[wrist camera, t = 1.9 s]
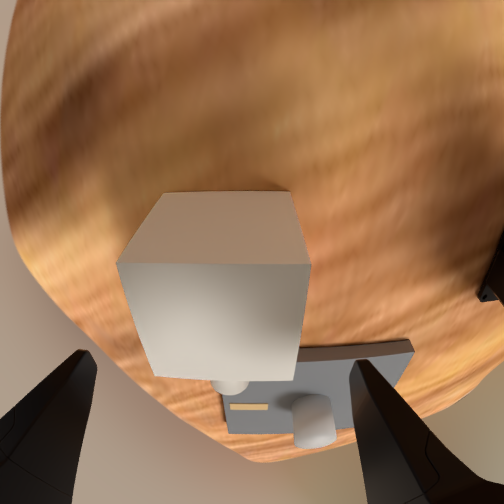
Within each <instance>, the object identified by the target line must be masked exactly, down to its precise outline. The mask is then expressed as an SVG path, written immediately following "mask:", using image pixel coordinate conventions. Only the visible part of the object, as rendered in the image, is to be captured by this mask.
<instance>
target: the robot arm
mask: <svg viewBox="0 0 504 504" xmlns="http://www.w3.org/2000/svg"><path fill="white" fill-rule="evenodd" d="M477 298H478V299H479V300H480V302H487V301H495V300H499V301H500V302H501V303H502V305H503V306H504V231H503V234H502V237H501V240H500V243H499V245H498V248H497V251H496V253H495V256H494V258H493V261H492V263H491V266H490V268H489V271H488V273H487V275H486V278H485V280H484V282H483V284H482V287H481V289H480V291H479V293H478V296H477ZM96 374H97V365H96V363H95V361H94V359H93V357H92V355H91V354H90V352H89V351H88V350H82V349H78V350H76V351H75V352H74V353H73V354H72V355H71V356H69V357H68V358H67V359H66V360H65V361H64V362H63V363H62V364H61V365H59V366H58V367H57V368H56V369H55V370H54V371H53V372H51V373H50V374H49V375H48V376H47V377H46V378H45V379H43V380H42V381H41V382H40V383H39V384H38V385H37V386H36V387H35V388H34V389H33V390H31V391H30V392H29V393H28V394H27V395H26V396H25V397H24V398H23V399H22V400H20V401H19V402H18V403H17V404H16V405H15V406H14V407H13V408H12V409H11V410H10V411H9V412H7V413H6V414H5V415H4V416H3V417H2V418H1V419H0V504H72V496H73V489H74V483H75V478H76V472H77V467H78V462H79V457H80V452H81V447H82V443H83V438H84V434H85V429H86V425H87V421H88V417H89V413H90V409H91V404H92V398H93V392H94V386H95V380H96ZM349 385H350V395H351V406H352V417H353V424H354V429H355V434H356V439H357V444H358V449H359V455H360V460H361V465H362V471H363V477H364V483H365V489H366V496H367V502H368V504H504V485H503V484H499V483H494V482H490V481H487V480H485V479H483V478H481V477H479V476H477V475H476V474H475V473H474V472H473V471H471V470H470V469H469V468H468V467H467V466H466V465H465V464H464V463H463V462H461V461H460V460H459V459H458V458H457V457H456V456H455V455H454V454H452V452H451V451H450V450H449V449H448V448H446V447H445V446H444V444H443V443H442V442H441V441H440V440H439V439H438V438H437V437H436V436H435V435H434V433H433V432H432V431H429V430H430V429H429V428H428V427H427V425H426V424H425V423H424V422H423V421H422V420H421V418H420V417H419V416H418V415H417V414H416V413H415V412H414V411H413V409H412V408H411V407H410V406H409V405H408V404H407V403H406V401H405V400H404V399H403V398H402V397H401V396H400V395H399V393H398V392H397V391H396V390H395V389H394V388H393V387H392V386H391V384H390V383H389V382H388V381H387V380H386V379H385V378H384V377H383V375H382V374H381V373H380V372H379V371H378V370H377V369H376V368H375V366H374V365H373V364H372V363H371V362H370V361H369V360H368V359H357V360H356V361H355V362H354V364H353V367H352V369H351V372H350V374H349Z"/></svg>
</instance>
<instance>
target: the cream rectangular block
mask: <svg viewBox="0 0 504 504" xmlns="http://www.w3.org/2000/svg"><path fill="white" fill-rule="evenodd" d="M116 265H117V269H118V272H119V276H120V279H121V283H122V286H123V289H124V292H125V296H126V299H127V302H128V305H129V308H130V311H131V314H132V317H133V320H134V323H135V326H136V329H137V331H138V334H139V337H140V340H141V342H142V345H143V348H144V350H145V353H146V356H147V358H148V361H149V363H150V366H151V368H152V371H153V373H154V376H160V377H171V378H183V379H198V380H210V382H211V385H212V387H213V388H214V390H215V391H217V392H218V393H220V394H223V395H236V394H239V393H241V392H242V391H244V390H245V389H246V388H247V386H248V384H249V381H293V377H294V372H295V367H296V361H297V355H298V349H299V344H300V338H301V332H302V325H303V319H304V312H305V306H306V299H307V292H308V285H309V278H310V270H311V261H310V258H309V254H308V250H307V247H306V243H305V240H304V236H303V233H302V230H301V226H300V223H299V219H298V216H297V213H296V209H295V206H294V203H293V200H292V196H291V193H290V191H205V192H171V193H163V194H162V196H161V197H160V198H159V200H158V201H157V202H156V204H155V205H154V207H153V208H152V209H151V211H150V212H149V214H148V215H147V217H146V218H145V219H144V221H143V222H142V224H141V225H140V227H139V228H138V230H137V231H136V233H135V234H134V235H133V237H132V238H131V240H130V241H129V243H128V244H127V246H126V248H125V249H124V251H123V252H122V254H121V255H120V257H119V258H118V260H117V262H116Z"/></svg>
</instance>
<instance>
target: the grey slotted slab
mask: <svg viewBox="0 0 504 504" xmlns="http://www.w3.org/2000/svg"><path fill="white" fill-rule="evenodd" d="M414 352H415V351H414V348H413V346H412V344H411V342H410V340H405V341H397V342H387V343H377V344H366V345H354V346H340V347H323V348H299V349H298V355H297V361H296V367H295V372H294V377H293V381H249V384H248V386H247V388H246V389H245V390H244V391H242V392H241V393H239V394H236V395H223V394H222V397H223V403H224V409H225V415H226V421H227V427H228V433H229V434H285V433H294V444H295V446H296V447H298V448H303V449H313V448H320V447H324V446H327V445H329V444H331V443H333V442H334V441H335V440H336V439H337V436H336V430H337V429H345V428H352V427H354V424H353V417H352V406H351V395H350V385H349V374H350V372H351V369H352V367H353V364H354V362H355V361H356V360H357V359H368V360H369V361H370V362H371V363H372V364H373V365H374V366H375V368H376V369H377V370H378V371H379V372H380V373H381V374H382V375H383V377H384V378H385V379H386V380H387V381H388V382H389V383H390V384H391V386H392V387H393V388H394V387H395V385H396V384H397V382H398V380H399V379H400V377H401V375H402V374H403V372H404V370H405V369H406V367H407V365H408V363H409V362H410V360H411V358H412V356H413V354H414Z"/></svg>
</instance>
